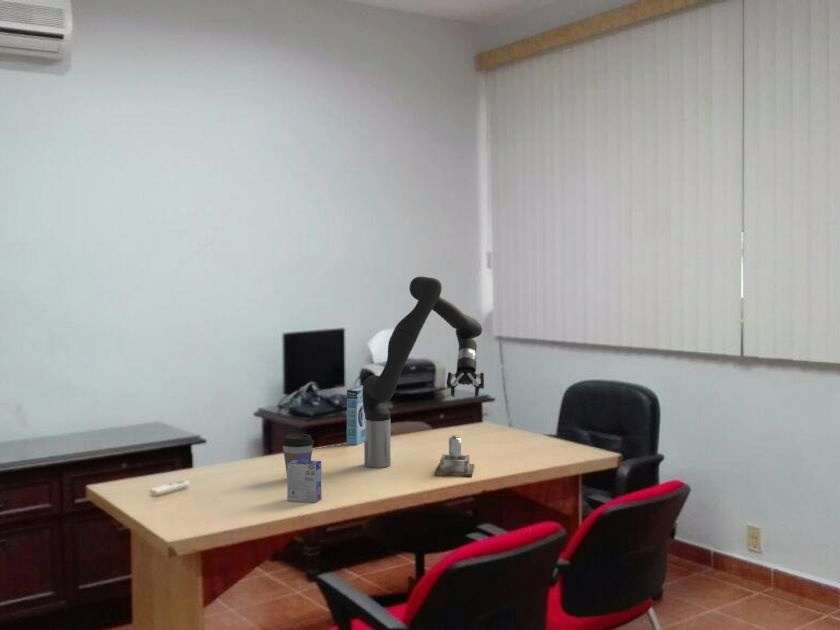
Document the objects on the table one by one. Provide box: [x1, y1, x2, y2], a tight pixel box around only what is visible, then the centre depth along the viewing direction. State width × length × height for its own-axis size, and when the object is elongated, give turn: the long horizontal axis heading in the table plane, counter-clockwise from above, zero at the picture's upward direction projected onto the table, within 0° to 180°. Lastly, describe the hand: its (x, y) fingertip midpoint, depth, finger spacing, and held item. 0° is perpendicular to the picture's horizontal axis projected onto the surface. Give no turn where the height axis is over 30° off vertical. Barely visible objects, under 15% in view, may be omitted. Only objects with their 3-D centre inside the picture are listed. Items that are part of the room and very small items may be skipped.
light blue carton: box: [346, 384, 366, 446], centre depth 364 cm, size 20×5×23 cm, turn 161°
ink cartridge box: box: [286, 453, 322, 503], centre depth 270 cm, size 10×6×14 cm, turn 78°
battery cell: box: [448, 435, 462, 460], centre depth 308 cm, size 4×4×12 cm
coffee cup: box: [281, 433, 315, 474], centre depth 297 cm, size 11×11×15 cm
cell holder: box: [434, 453, 475, 478], centre depth 308 cm, size 13×16×5 cm
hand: (464, 395), depth 325 cm, fingers open, 8 cm apart
